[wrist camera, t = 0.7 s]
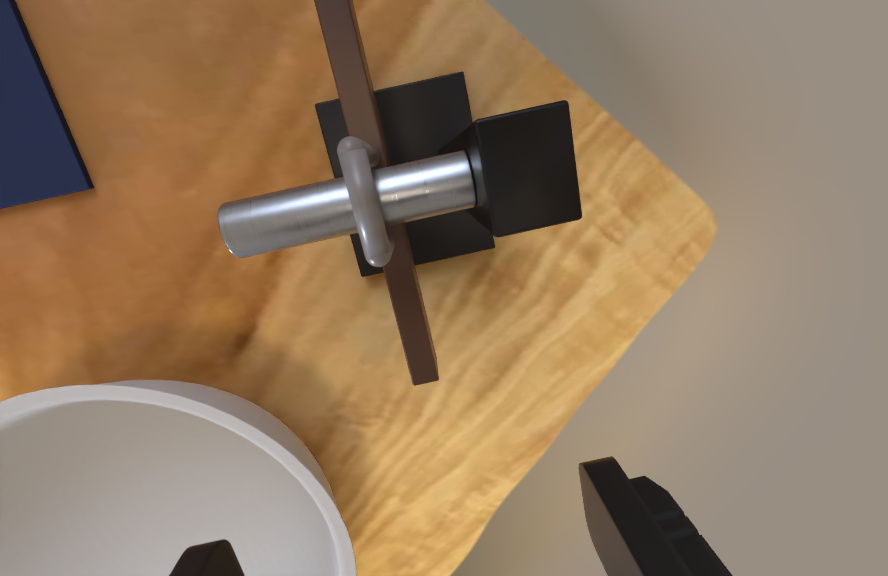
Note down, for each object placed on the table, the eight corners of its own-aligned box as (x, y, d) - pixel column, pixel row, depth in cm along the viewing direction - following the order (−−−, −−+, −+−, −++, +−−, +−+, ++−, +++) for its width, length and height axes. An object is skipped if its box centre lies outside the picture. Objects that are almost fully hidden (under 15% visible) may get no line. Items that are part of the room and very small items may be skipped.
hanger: (317, -18, 17) (243, -155, 10) (346, -24, 17) (294, -167, 10) (413, 363, 22) (411, 460, 15) (437, 358, 22) (446, 453, 15)
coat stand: (311, 108, 30) (82, -20, 9) (461, 74, 30) (555, -125, 9) (357, 274, 33) (260, 446, 13) (492, 245, 33) (612, 368, 13)
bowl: (437, 463, 38) (444, 564, 28) (240, 643, 42) (188, 785, 32) (168, 248, 32) (59, 284, 22) (-31, 485, 36) (-197, 602, 26)
